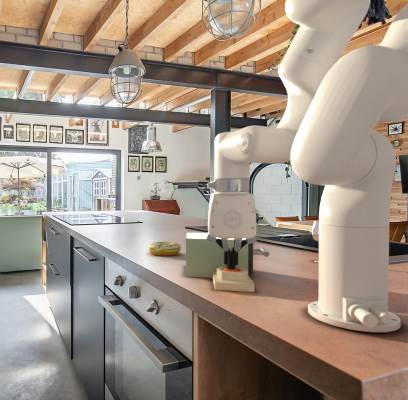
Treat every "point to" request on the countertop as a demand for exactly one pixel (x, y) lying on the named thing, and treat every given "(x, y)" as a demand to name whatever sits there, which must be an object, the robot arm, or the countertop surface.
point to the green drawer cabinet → (208, 255)
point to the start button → (232, 269)
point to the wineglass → (316, 233)
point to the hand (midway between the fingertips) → (230, 267)
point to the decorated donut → (164, 248)
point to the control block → (232, 280)
